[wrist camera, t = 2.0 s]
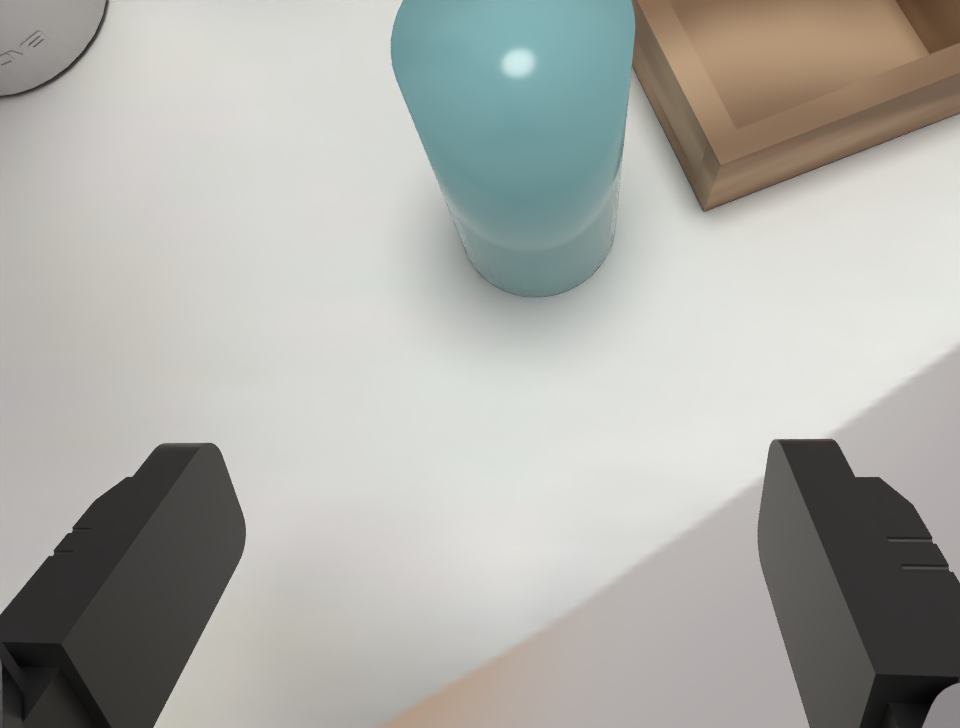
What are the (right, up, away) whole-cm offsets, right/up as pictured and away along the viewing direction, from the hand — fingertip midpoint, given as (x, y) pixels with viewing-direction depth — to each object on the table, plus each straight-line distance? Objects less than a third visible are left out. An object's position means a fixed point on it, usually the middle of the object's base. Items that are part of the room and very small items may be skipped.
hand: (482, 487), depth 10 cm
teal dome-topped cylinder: (+2, +7, +17) cm, 19 cm away
